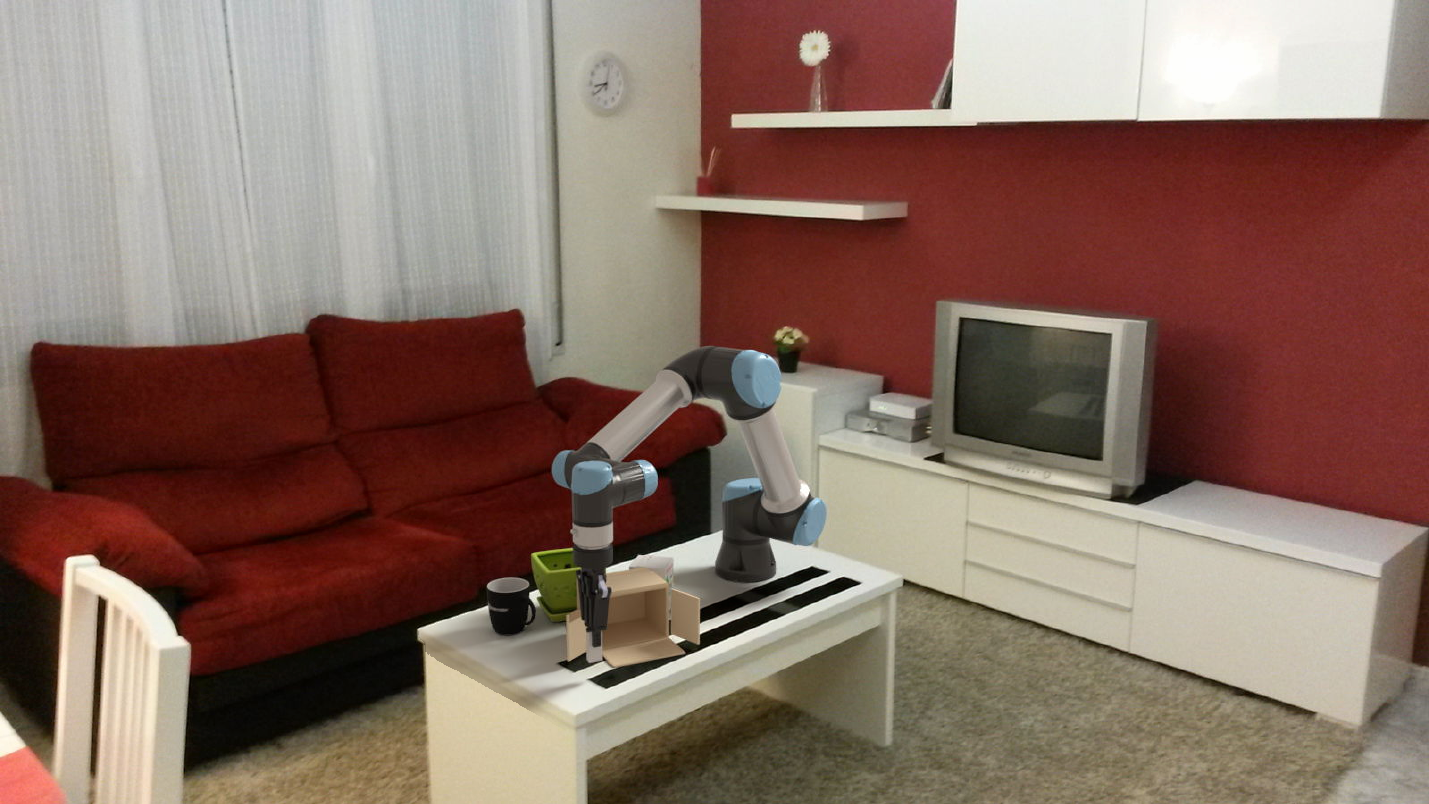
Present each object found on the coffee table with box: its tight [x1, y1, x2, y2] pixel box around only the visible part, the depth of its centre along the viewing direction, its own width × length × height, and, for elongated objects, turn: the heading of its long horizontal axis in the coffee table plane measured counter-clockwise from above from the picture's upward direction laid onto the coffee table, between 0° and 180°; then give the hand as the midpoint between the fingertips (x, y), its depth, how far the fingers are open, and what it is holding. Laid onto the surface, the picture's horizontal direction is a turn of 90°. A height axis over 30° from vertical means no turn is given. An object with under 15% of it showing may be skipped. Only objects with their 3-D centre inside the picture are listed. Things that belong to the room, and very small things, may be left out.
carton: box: [577, 567, 701, 669], centre depth 236 cm, size 19×20×12 cm
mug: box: [486, 577, 537, 636], centre depth 240 cm, size 12×9×10 cm
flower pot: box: [530, 547, 607, 623], centre depth 251 cm, size 14×14×13 cm
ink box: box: [628, 554, 674, 612], centre depth 252 cm, size 8×8×12 cm
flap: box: [566, 608, 587, 662], centre depth 226 cm, size 8×1×10 cm, turn 149°
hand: (594, 660), depth 218 cm, fingers closed
